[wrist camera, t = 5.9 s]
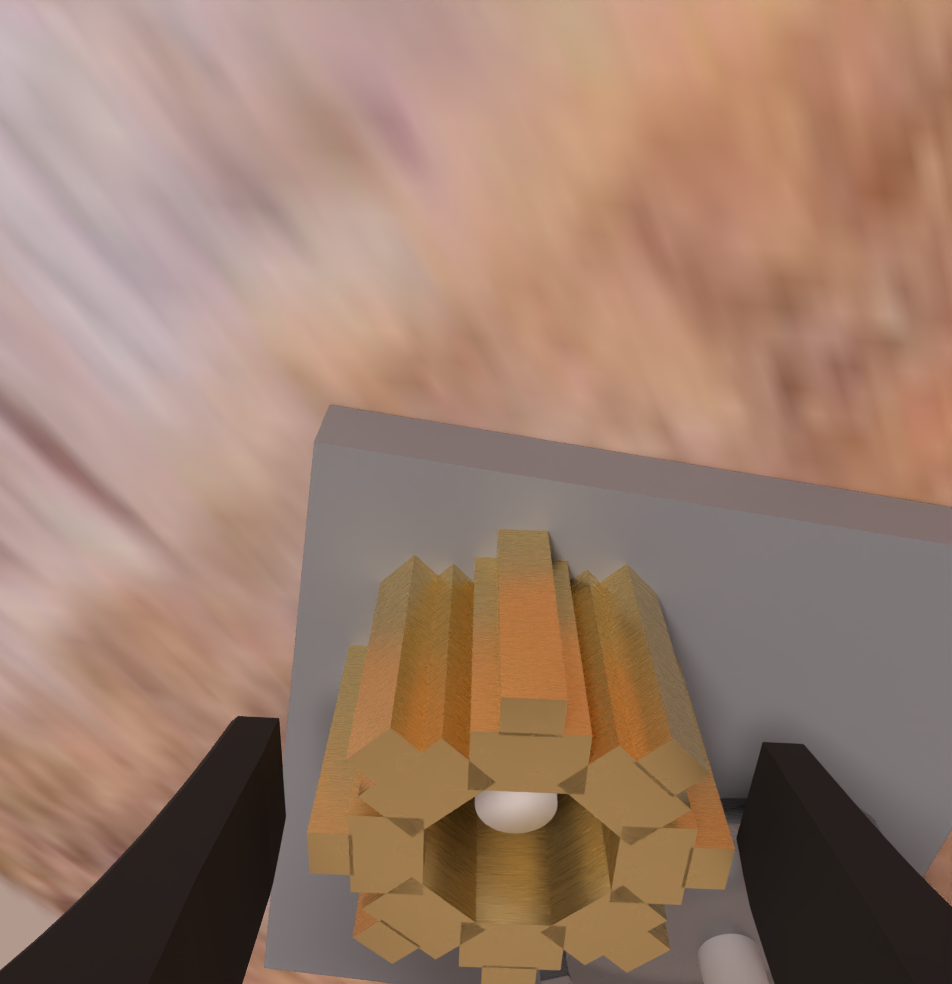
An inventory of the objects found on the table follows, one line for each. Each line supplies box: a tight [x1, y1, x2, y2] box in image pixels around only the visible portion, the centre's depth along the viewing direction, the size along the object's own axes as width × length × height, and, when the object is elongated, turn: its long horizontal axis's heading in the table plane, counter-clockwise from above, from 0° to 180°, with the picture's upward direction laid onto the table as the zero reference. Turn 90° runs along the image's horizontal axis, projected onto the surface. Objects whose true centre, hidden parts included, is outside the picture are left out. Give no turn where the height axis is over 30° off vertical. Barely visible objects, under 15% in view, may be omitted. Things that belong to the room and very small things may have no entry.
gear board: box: [264, 405, 952, 984], centre depth 16 cm, size 13×13×4 cm
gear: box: [540, 798, 881, 984], centre depth 18 cm, size 8×8×1 cm
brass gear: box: [307, 529, 735, 984], centre depth 14 cm, size 6×6×4 cm
